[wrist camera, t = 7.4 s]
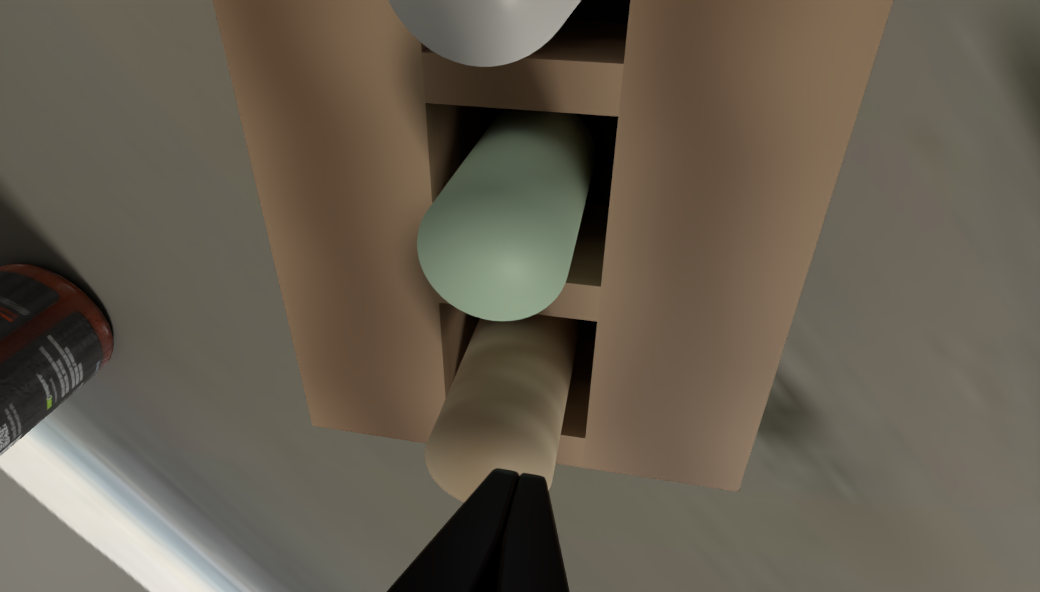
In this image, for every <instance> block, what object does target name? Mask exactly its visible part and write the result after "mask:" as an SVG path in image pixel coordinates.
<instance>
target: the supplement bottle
mask: <svg viewBox="0 0 1040 592" xmlns="http://www.w3.org/2000/svg"><path fill="white" fill-rule="evenodd" d="M113 346H114V342H113V336H112V332H111V329H110V327H109V324H108V321H107V320H106V319H105V317H104V315H103V314H102V312H101V311H100V309H99V308H98V307H97V306H96V304H95V303H94V302H93V301H92V300H91V299H90V298H89V297H88V296H87V295H86V294H85V293H84V292H83V291H82V290H81V289H79V288H78V287H77V286H75V285H74V284H73V283H72V282H70V281H69V280H67V279H65V278H64V277H62V276H60V275H58V274H56V273H53V272H51V271H49V270H46V269H43V268H40V267H37V266H33V265H29V264H8V265H4V266H1V267H0V456H1V455H2V454H3V453H4V452H5V451H7V450H8V449H9V448H10V447H11V446H12V445H14V444H15V443H16V442H17V441H18V440H19V439H21V438H22V437H23V436H24V435H25V434H26V433H27V432H29V431H30V430H31V429H32V428H33V427H35V426H36V425H37V424H38V423H39V422H40V421H41V420H43V419H44V418H45V417H46V416H47V415H49V414H50V413H51V412H52V411H53V410H54V409H55V408H57V407H58V406H59V405H60V404H61V403H62V402H64V401H65V400H66V399H67V398H68V397H69V396H70V395H72V394H73V393H74V392H75V391H76V390H78V389H79V388H80V387H81V386H82V385H83V384H85V383H86V382H87V381H88V380H89V379H90V378H92V377H93V376H94V375H95V374H96V373H97V372H98V371H99V370H100V369H101V368H102V367H103V366H104V365H105V364H106V363H107V362H108V361H109V360H110V358H111V355H112V352H113Z"/></svg>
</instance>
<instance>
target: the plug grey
mask: <svg viewBox="0 0 1040 592" xmlns="http://www.w3.org/2000/svg"><path fill="white" fill-rule="evenodd" d="M388 1H389V3H390V5H391V7H392V9H393V10H394V12H395V13H396V15H397V16H398V18H399V19H400V21H401V22H402V23H403V24H404V26H405V27H406V28H407V29H408V31H409V32H410V33H411V34H412V35H413V36H414V37H415V38H416V39H418V40H419V41H420V42H421V43H422V44H424V45H425V46H426V47H427V48H429V49H430V50H432V51H433V52H435V53H437V54H439V55H440V56H442V57H444V58H447V59H449V60H452V61H454V62H457V63H461V64H465V65H470V66H478V67H493V66H499V65H505V64H509V63H512V62H515V61H518V60H520V59H522V58H524V57H527V56H529V55H530V54H532V53H533V52H535V51H536V50H538V49H540V48H541V47H542V46H543V45H544V44H545V43H547V42H548V41H549V40H550V39H551V38H552V37H553V36H554V35H555V34H556V32H557V31H558V30H559V29H560V28H561V26H562V25H563V24H564V23H565V21H566V20H567V19H568V17H569V16H570V15H571V13H572V12H573V11H574V9H575V8H576V7H577V5H578V4H579V3H580V1H581V0H388Z"/></svg>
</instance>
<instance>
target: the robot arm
mask: <svg viewBox="0 0 1040 592" xmlns="http://www.w3.org/2000/svg"><path fill="white" fill-rule="evenodd" d="M387 592H569V587H568V582H567V577H566V572H565V568H564V563H563V558H562V553H561V548H560V543H559V539H558V534H557V529H556V524H555V519H554V515H553V510H552V505H551V500H550V495H549V491H548V486H547V481H546V479H545V477H543V476H540V475H535V474H529V473H522V474H521V475H520V476H519V473H518V472H516V471H512V470H506V469H501V468H496V469H494V470H492V471H491V472H490V473H489V475H488V476H487V477H486V478H485V479H484V480H483V481H482V483H481V484H480V485H479V486H478V487H477V488H476V490H475V491H474V492H473V493H472V494H471V495H470V496H469V498H468V499H467V500H466V501H465V502H464V503H463V504H462V506H461V507H460V508H459V509H458V510H457V511H456V513H455V514H454V515H453V516H452V517H451V518H450V519H449V521H448V522H447V523H446V524H445V525H444V526H443V527H442V529H441V530H440V531H439V532H438V533H437V534H436V536H435V537H434V538H433V539H432V540H431V541H430V542H429V544H428V545H427V546H426V547H425V548H424V549H423V550H422V552H421V553H420V554H419V555H418V556H417V557H416V559H415V560H414V561H413V562H412V563H411V564H410V565H409V567H408V568H407V569H406V570H405V571H404V572H403V573H402V575H401V576H400V577H399V578H398V579H397V580H396V582H395V583H394V584H393V585H392V586H391V587H390V588H389V590H388V591H387Z"/></svg>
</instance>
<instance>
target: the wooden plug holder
mask: <svg viewBox="0 0 1040 592" xmlns="http://www.w3.org/2000/svg"><path fill="white" fill-rule="evenodd" d="M213 3H214V8H215V12H216V16H217V20H218V25H219V29H220V33H221V37H222V42H223V46H224V50H225V55H226V59H227V63H228V67H229V72H230V76H231V80H232V84H233V89H234V93H235V97H236V101H237V106H238V110H239V114H240V118H241V123H242V127H243V131H244V135H245V140H246V144H247V148H248V152H249V157H250V161H251V165H252V170H253V174H254V178H255V182H256V187H257V191H258V195H259V199H260V204H261V208H262V212H263V216H264V221H265V225H266V229H267V233H268V238H269V242H270V246H271V250H272V255H273V259H274V263H275V267H276V272H277V276H278V280H279V284H280V289H281V293H282V297H283V302H284V306H285V310H286V314H287V319H288V323H289V327H290V331H291V336H292V340H293V344H294V348H295V353H296V357H297V361H298V365H299V370H300V374H301V378H302V382H303V387H304V391H305V395H306V399H307V404H308V408H309V412H310V417H311V421H312V425H313V426H318V427H324V428H331V429H337V430H343V431H350V432H356V433H363V434H369V435H376V436H382V437H389V438H395V439H402V440H408V441H414V442H421V443H427V442H428V439H429V437H430V435H431V432H432V430H433V428H434V425H435V423H436V420H437V418H438V416H439V413H440V411H441V409H442V406H443V404H444V402H445V399H446V397H447V395H448V392H449V390H450V387H451V385H452V383H453V380H454V378H455V376H456V373H457V371H458V369H459V366H460V364H461V362H462V359H463V357H464V354H465V352H466V350H467V347H468V345H469V343H470V340H471V338H472V336H473V333H474V331H475V328H476V326H477V324H478V321H479V319H480V318H478V317H475V316H472V315H470V314H467V313H465V312H463V311H461V310H459V309H457V308H456V307H454V306H453V305H451V304H450V303H448V302H447V301H446V300H445V299H444V298H442V297H441V296H440V295H439V293H438V292H437V291H436V290H435V289H434V288H433V287H432V285H431V284H430V283H429V281H428V279H427V278H426V276H425V274H424V272H423V270H422V267H421V264H420V261H419V257H418V251H417V237H418V230H419V227H420V223H421V221H422V219H423V217H424V215H425V213H426V212H427V210H428V209H429V207H430V206H431V205H432V203H433V202H434V201H435V199H436V198H437V197H438V195H439V194H440V193H441V191H442V190H443V189H444V187H445V186H446V184H447V183H448V182H449V180H450V179H451V178H452V176H453V175H454V174H455V172H456V171H457V170H458V168H459V167H460V166H461V164H462V163H463V161H464V160H465V159H466V157H467V156H468V155H469V153H470V152H471V151H472V149H473V148H474V147H475V145H476V144H477V143H478V141H479V140H480V130H479V107H490V108H504V109H518V110H533V111H547V112H561V113H575V114H590V115H604V116H618V125H617V135H616V144H615V154H614V164H613V174H612V183H611V193H610V203H609V206H602V205H591V204H585V206H584V210H583V215H582V219H581V223H580V227H579V231H578V236H577V240H576V244H575V248H574V252H573V257H572V261H571V265H570V269H569V273H568V277H567V280H566V283H565V285H564V287H563V289H562V291H561V292H560V294H559V295H558V297H557V298H556V299H555V300H554V301H553V302H552V303H551V304H550V305H549V306H548V307H546V308H545V309H544V310H542V311H540V312H539V313H537V314H538V315H547V316H555V317H563V318H572V319H580V320H588V321H597V329H596V339H595V341H591V340H583V339H578V341H577V347H576V352H575V358H574V363H573V369H572V374H571V380H570V385H569V391H568V396H567V402H566V407H565V413H564V418H563V424H562V429H561V435H560V440H559V446H558V451H557V457H556V462H555V463H556V464H563V465H569V466H576V467H582V468H589V469H595V470H602V471H608V472H614V473H621V474H627V475H634V476H640V477H647V478H653V479H660V480H666V481H673V482H679V483H685V484H692V485H698V486H705V487H711V488H718V489H724V490H731V491H737V492H738V491H739V488H740V485H741V482H742V479H743V476H744V472H745V469H746V466H747V463H748V460H749V457H750V453H751V450H752V447H753V444H754V441H755V438H756V434H757V431H758V428H759V425H760V422H761V419H762V415H763V412H764V409H765V406H766V403H767V400H768V396H769V393H770V390H771V387H772V384H773V381H774V377H775V374H776V371H777V368H778V365H779V361H780V358H781V355H782V352H783V349H784V346H785V342H786V339H787V336H788V333H789V330H790V327H791V323H792V320H793V317H794V314H795V311H796V308H797V304H798V301H799V298H800V295H801V292H802V289H803V285H804V282H805V279H806V276H807V273H808V270H809V266H810V263H811V260H812V257H813V254H814V251H815V247H816V244H817V241H818V238H819V235H820V231H821V228H822V225H823V222H824V219H825V216H826V212H827V209H828V206H829V203H830V200H831V197H832V193H833V190H834V187H835V184H836V181H837V178H838V174H839V171H840V168H841V165H842V162H843V159H844V155H845V152H846V149H847V146H848V143H849V140H850V136H851V133H852V130H853V127H854V124H855V121H856V117H857V114H858V111H859V108H860V105H861V101H862V98H863V95H864V92H865V89H866V86H867V82H868V79H869V76H870V73H871V70H872V67H873V63H874V60H875V57H876V54H877V51H878V48H879V44H880V41H881V38H882V35H883V32H884V29H885V25H886V22H887V19H888V16H889V13H890V10H891V6H892V3H893V0H630V8H629V18H628V23H607V22H586V21H565V23H564V24H563V25H562V26H561V28H560V29H559V30H558V31H557V32H556V34H555V35H554V36H553V37H552V38H551V39H550V40H549V41H548V42H547V43H545V44H544V45H543V46H542V47H541V48H540V49H538V50H536V51H535V52H533V53H532V54H530V55H529V56H527V57H524V58H522V59H520V60H518V61H515V62H512V63H509V64H505V65H499V66H493V67H478V66H470V65H465V64H461V63H457V62H454V61H452V60H449V59H447V58H444V57H442V56H440V55H439V54H437V53H435V52H433V51H432V50H430V49H429V48H427V47H426V46H425V45H424V44H422V43H421V42H420V41H419V40H418V39H416V38H415V37H414V36H413V35H412V34H411V33H410V32H409V31H408V29H407V28H406V27H405V26H404V24H403V23H402V22H401V21H400V19H399V18H398V16H397V15H396V13H395V12H394V10H393V9H392V7H391V5H390V3H389V1H388V0H213Z"/></svg>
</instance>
